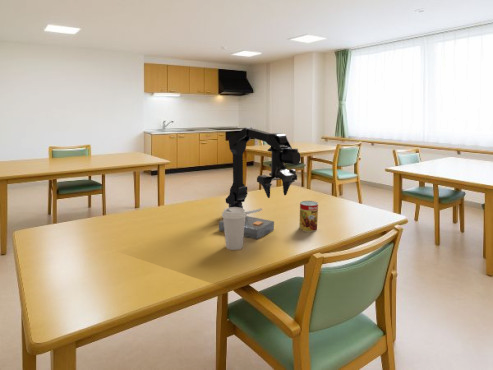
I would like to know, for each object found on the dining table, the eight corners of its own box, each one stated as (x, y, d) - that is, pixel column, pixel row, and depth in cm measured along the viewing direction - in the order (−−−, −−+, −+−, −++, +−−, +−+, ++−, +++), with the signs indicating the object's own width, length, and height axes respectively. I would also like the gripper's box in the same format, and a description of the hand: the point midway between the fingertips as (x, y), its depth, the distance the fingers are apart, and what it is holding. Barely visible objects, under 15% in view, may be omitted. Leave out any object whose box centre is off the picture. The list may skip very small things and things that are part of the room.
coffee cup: (221, 242, 148) (221, 206, 145) (245, 242, 149) (245, 206, 146) (222, 252, 139) (221, 213, 135) (247, 251, 139) (247, 213, 136)
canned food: (313, 232, 160) (314, 206, 157) (296, 229, 164) (297, 203, 161) (319, 227, 166) (320, 202, 164) (303, 224, 170) (304, 199, 168)
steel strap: (230, 218, 165) (229, 216, 165) (233, 216, 167) (233, 214, 167) (258, 211, 156) (258, 209, 156) (262, 209, 158) (261, 208, 158)
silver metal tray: (218, 230, 163) (218, 217, 161) (237, 222, 174) (237, 210, 173) (257, 239, 152) (257, 225, 151) (273, 229, 163) (274, 217, 162)
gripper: (271, 166, 151) (270, 203, 154) (306, 163, 160) (304, 197, 164) (256, 163, 160) (255, 197, 163) (289, 159, 169) (288, 192, 173)
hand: (276, 196), depth 165 cm, fingers open, 9 cm apart
